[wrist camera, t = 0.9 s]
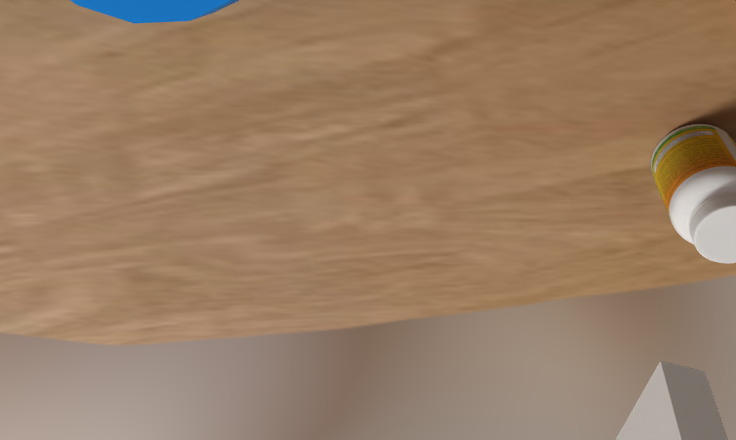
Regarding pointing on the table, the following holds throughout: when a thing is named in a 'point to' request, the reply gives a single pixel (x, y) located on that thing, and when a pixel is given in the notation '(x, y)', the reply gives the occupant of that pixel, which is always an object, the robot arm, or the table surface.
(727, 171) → the supplement bottle
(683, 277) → the table surface
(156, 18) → the thermos
